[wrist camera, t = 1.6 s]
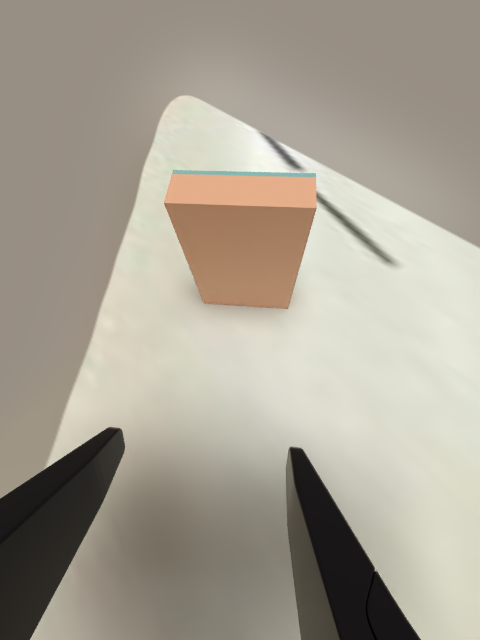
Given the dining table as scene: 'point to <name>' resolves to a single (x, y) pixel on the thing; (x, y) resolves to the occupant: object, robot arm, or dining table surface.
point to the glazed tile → (243, 232)
